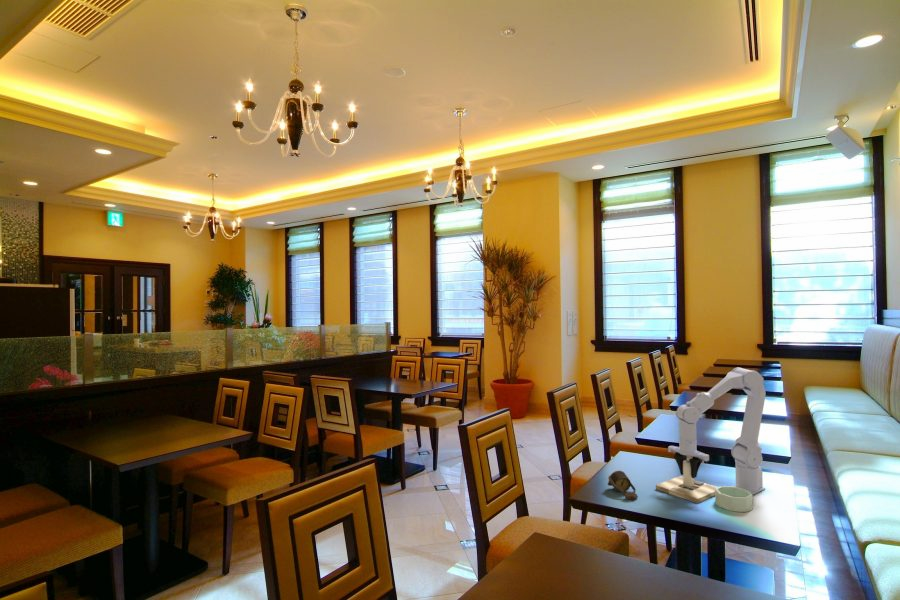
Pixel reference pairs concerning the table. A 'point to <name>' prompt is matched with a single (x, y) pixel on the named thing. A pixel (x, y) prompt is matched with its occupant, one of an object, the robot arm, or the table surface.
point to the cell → (687, 473)
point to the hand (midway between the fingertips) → (688, 475)
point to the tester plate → (677, 489)
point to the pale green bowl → (733, 499)
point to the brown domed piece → (622, 484)
